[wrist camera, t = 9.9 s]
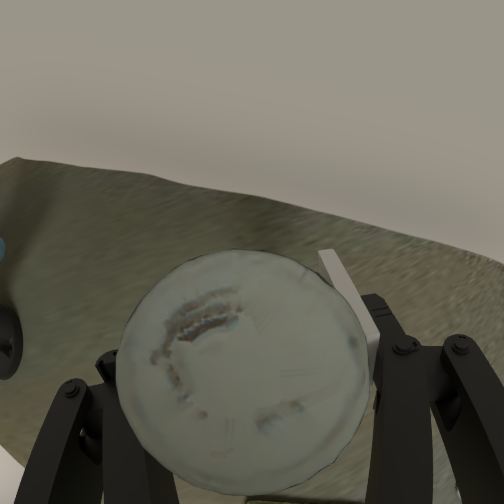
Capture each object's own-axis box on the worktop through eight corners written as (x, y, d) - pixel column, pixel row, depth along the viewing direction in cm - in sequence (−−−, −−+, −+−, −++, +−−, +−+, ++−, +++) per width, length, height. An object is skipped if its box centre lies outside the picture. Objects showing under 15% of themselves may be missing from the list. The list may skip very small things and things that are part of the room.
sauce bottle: (235, 318, 24) (96, 164, 6) (315, 319, 24) (410, 157, 5) (230, 399, 22) (57, 488, 3) (312, 402, 21) (418, 526, 3)
